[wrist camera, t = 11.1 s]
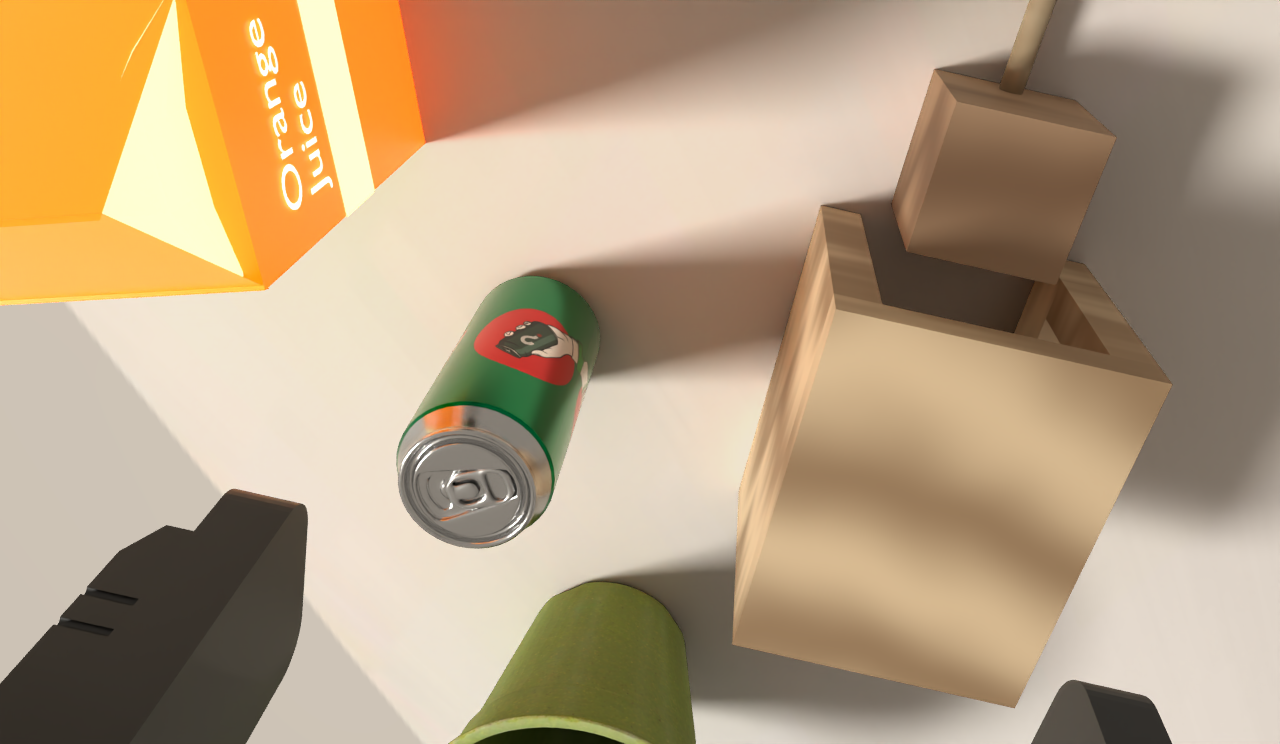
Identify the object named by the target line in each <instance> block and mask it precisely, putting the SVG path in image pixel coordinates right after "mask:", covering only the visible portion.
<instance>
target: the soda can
mask: <svg viewBox="0 0 1280 744" xmlns="http://www.w3.org/2000/svg"><path fill="white" fill-rule="evenodd" d="M599 346H600V331H599V327H598V322H597V320H596V317H595V315H594V313H593V311H592V309H591V308H590V306H589V305H588V303H587V302H586V301H585V300H584V299H583V298H582V297H581V296H580V295H579V294H578V293H577V292H576V291H575V290H573V289H572V288H570V287H569V286H567V285H565V284H563V283H561V282H559V281H556V280H553V279H550V278H546V277H539V276H525V277H518V278H515V279H511V280H508V281H506V282H504V283H502V284H500V285H499V286H497V287H496V288H495V289H493V290H492V291H491V292H490V293H489V294H488V295H487V296H486V297H485V299H484V300H483V302H482V303H481V305H480V307H479V308H478V310H477V312H476V313H475V315H474V317H473V318H472V320H471V322H470V323H469V325H468V327H467V328H466V330H465V332H464V333H463V335H462V337H461V338H460V340H459V342H458V343H457V345H456V347H455V348H454V350H453V352H452V353H451V355H450V357H449V358H448V360H447V362H446V363H445V365H444V367H443V368H442V370H441V372H440V373H439V375H438V377H437V378H436V380H435V382H434V383H433V385H432V387H431V388H430V390H429V392H428V393H427V395H426V397H425V398H424V400H423V401H422V403H421V405H420V406H419V408H418V410H417V411H416V413H415V415H414V416H413V418H412V420H411V421H410V423H409V425H408V426H407V428H406V430H405V431H404V433H403V435H402V438H401V440H400V442H399V446H398V450H397V463H396V465H397V471H398V486H399V493H400V496H401V499H402V502H403V504H404V506H405V508H406V510H407V512H408V513H409V514H410V516H411V517H412V518H413V520H414V521H415V522H416V523H417V524H418V525H419V526H420V527H421V528H423V529H424V530H425V531H426V532H428V533H429V534H431V535H432V536H434V537H436V538H437V539H439V540H442V541H444V542H446V543H449V544H452V545H455V546H459V547H465V548H489V547H493V546H498V545H501V544H503V543H505V542H508V541H510V540H511V539H513V538H514V537H516V536H517V535H518V534H519V533H521V532H522V531H523V530H524V529H526V528H527V527H529V526H530V525H532V524H533V523H534V522H535V521H536V520H538V519H539V518H540V516H541V515H542V514H543V513H544V511H545V510H546V508H547V507H548V505H549V503H550V501H551V498H552V495H553V492H554V489H555V486H556V483H557V480H558V476H559V473H560V470H561V467H562V464H563V461H564V458H565V455H566V452H567V448H568V445H569V442H570V439H571V436H572V433H573V430H574V427H575V424H576V420H577V417H578V414H579V411H580V408H581V405H582V402H583V399H584V395H585V392H586V389H587V386H588V383H589V380H590V377H591V374H592V371H593V367H594V364H595V361H596V358H597V355H598V352H599Z"/></svg>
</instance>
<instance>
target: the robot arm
mask: <svg viewBox="0 0 1280 744" xmlns="http://www.w3.org/2000/svg"><path fill="white" fill-rule="evenodd" d="M307 526H308V515H307V509H306V507H305V505H303V504H300V503H296V502H291V501H287V500H282V499H278V498H274V497H269V496H265V495H260V494H256V493H251V492H247V491H242V490H238V489H231V490H229V491H228V492H227V493H225V494H224V495H223V497H222V498H221V499H220V500H219V501H218V503H217V504H216V505H215V506H214V508H213V509H212V510H211V511H210V513H209V514H208V515H207V516H206V517H205V519H204V520H203V521H202V522H201V523H200V525H199V526H198V527H197V528H196V530H195V531H190V530H186V529H181V528H176V527H172V526H167V525H166V526H164V527H162V528H161V529H159V530H157V531H155V532H153V533H151V534H150V535H148V536H146V537H144V538H142V539H141V540H139V541H137V542H135V543H133V544H131V545H130V546H128V547H126V548H124V549H122V550H121V551H119V552H118V553H117V554H116V555H115V556H114V558H113V559H112V560H111V561H110V562H109V563H108V564H107V565H106V566H105V568H104V569H103V570H102V571H101V572H100V573H99V574H98V575H97V577H96V578H95V579H94V580H93V581H92V582H91V583H90V584H89V585H88V587H87V590H86V593H85V594H84V595H82V594H80V595H79V597H78V598H77V599H76V600H75V601H74V602H73V603H72V604H71V605H70V607H69V608H68V609H67V610H66V611H65V612H64V613H63V614H62V615H61V617H60V621H59V623H58V625H53V626H52V627H51V628H50V629H49V630H48V631H47V632H46V633H45V634H44V636H43V637H42V638H41V639H40V640H39V641H38V642H37V643H36V644H35V646H34V647H33V648H32V649H31V650H30V651H29V652H28V654H26V656H25V657H24V658H23V659H22V660H21V661H20V662H19V664H18V665H17V666H16V667H15V668H14V669H13V670H12V671H11V672H10V673H9V675H8V676H7V677H6V678H5V679H4V680H3V681H2V682H1V684H0V744H246V742H247V741H248V739H249V737H250V735H251V734H252V732H253V730H254V728H255V726H256V725H257V723H258V721H259V719H260V718H261V716H262V714H263V712H264V711H265V709H266V707H267V705H268V704H269V701H270V700H271V698H272V697H273V695H274V693H275V691H276V689H277V688H278V686H279V684H280V683H281V681H282V679H283V677H284V675H285V673H286V671H287V669H288V667H289V664H290V661H291V659H292V656H293V653H294V650H295V647H296V644H297V640H298V636H299V631H300V626H301V619H302V607H303V591H304V575H305V559H306V542H307ZM1031 744H1172V742H1171V740H1170V738H1169V736H1168V733H1167V731H1166V729H1165V727H1164V724H1163V722H1162V720H1161V718H1160V715H1159V713H1158V711H1157V709H1156V707H1155V705H1154V704H1153V702H1152V701H1151V700H1150V699H1149V698H1147V697H1146V696H1143V695H1139V694H1135V693H1130V692H1126V691H1121V690H1117V689H1112V688H1108V687H1104V686H1099V685H1095V684H1090V683H1086V682H1081V681H1077V680H1070V681H1068V682H1066V683H1065V684H1064V685H1063V686H1062V687H1061V688H1060V689H1059V691H1058V693H1057V694H1056V696H1055V698H1054V700H1053V702H1052V704H1051V706H1050V708H1049V710H1048V712H1047V714H1046V716H1045V718H1044V720H1043V722H1042V724H1041V726H1040V728H1039V730H1038V731H1037V733H1036V735H1035V737H1034V739H1033V741H1032V743H1031Z"/></svg>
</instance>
